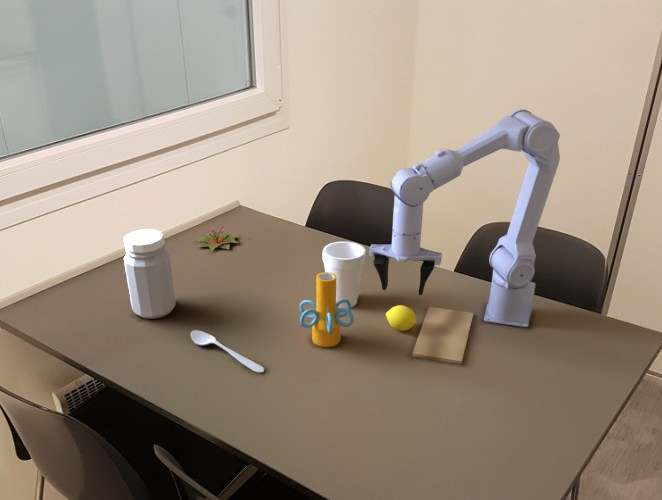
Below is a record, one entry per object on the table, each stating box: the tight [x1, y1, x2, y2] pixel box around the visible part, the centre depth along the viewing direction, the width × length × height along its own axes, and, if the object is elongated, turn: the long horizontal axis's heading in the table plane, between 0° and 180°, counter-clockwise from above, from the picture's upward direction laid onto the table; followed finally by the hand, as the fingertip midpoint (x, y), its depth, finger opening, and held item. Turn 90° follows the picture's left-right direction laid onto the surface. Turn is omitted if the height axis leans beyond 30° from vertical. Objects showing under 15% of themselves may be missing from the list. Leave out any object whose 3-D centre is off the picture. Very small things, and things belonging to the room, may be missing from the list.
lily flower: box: [196, 225, 239, 252], centre depth 187 cm, size 12×12×5 cm
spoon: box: [190, 329, 265, 374], centre depth 142 cm, size 4×21×2 cm, turn 50°
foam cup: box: [322, 241, 367, 309], centre depth 158 cm, size 10×9×13 cm
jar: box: [123, 228, 177, 320], centre depth 153 cm, size 10×10×18 cm
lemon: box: [385, 304, 417, 332], centre depth 150 cm, size 7×5×5 cm
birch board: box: [411, 306, 474, 365], centre depth 148 cm, size 10×20×1 cm, turn 163°
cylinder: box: [299, 271, 355, 348], centre depth 143 cm, size 12×10×15 cm
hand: (402, 290), depth 146 cm, fingers open, 7 cm apart
